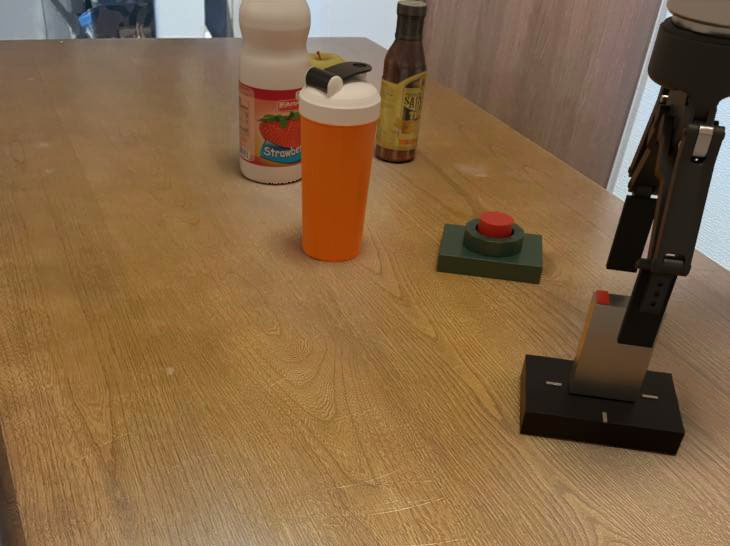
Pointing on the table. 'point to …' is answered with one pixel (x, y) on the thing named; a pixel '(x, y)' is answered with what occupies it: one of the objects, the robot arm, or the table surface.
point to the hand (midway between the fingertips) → (627, 304)
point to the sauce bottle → (402, 86)
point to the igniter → (491, 254)
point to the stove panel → (599, 410)
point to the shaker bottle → (336, 158)
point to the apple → (324, 60)
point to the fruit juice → (272, 87)
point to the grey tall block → (608, 353)
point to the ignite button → (495, 224)
